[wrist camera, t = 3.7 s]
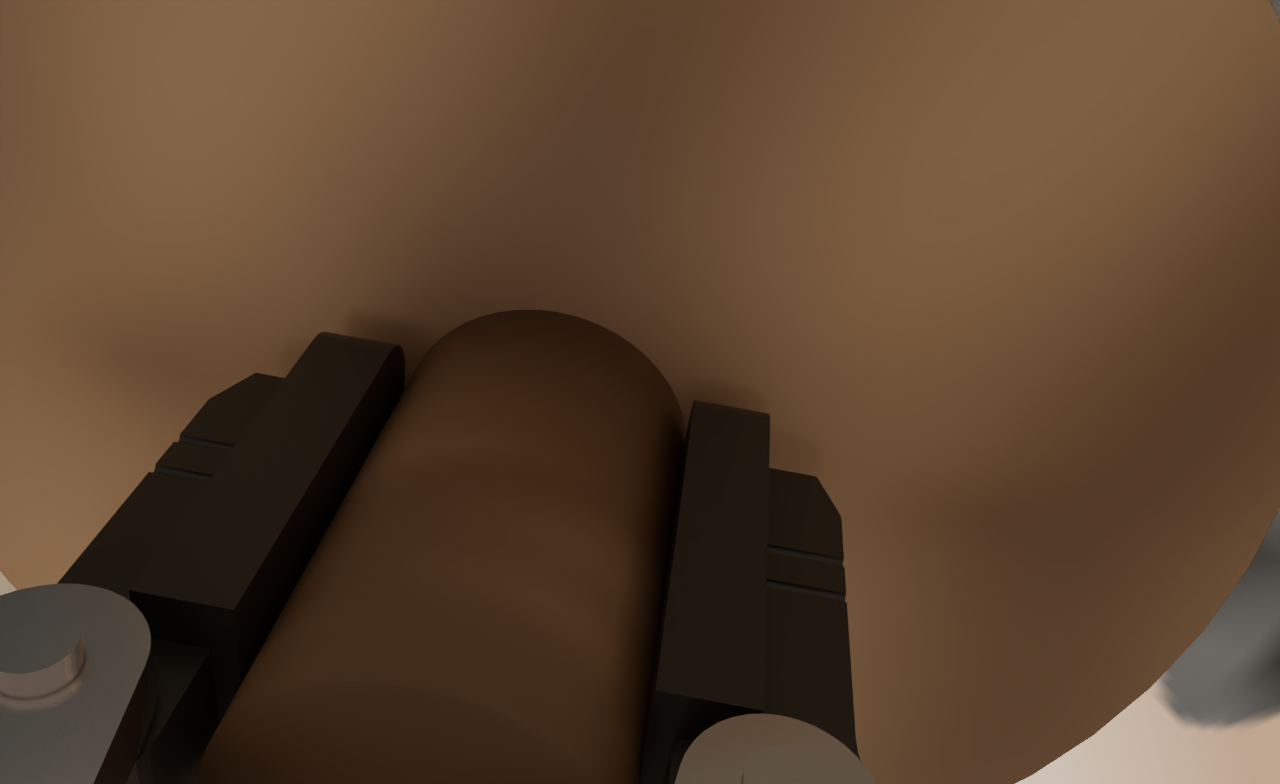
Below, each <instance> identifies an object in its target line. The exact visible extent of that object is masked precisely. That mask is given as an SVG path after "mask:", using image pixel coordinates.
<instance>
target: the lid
mask: <svg viewBox="0 0 1280 784" xmlns="http://www.w3.org/2000/svg"><path fill="white" fill-rule="evenodd" d="M320 332H330V333H335V334H341V335H346V336H352V337H357V338H363V339H368V340H374V341H379V342H384V343H390V344H395V345H400V346H401V347H402V349H403V352H404V357H405V389H404V391H403V393H402V395H401V396H400V398H399V400H398V402H397V404H396V406H395V407H394V409H393V411H392V413H391V415H390V416H389V418H388V420H387V422H386V424H385V425H384V427H383V429H382V431H381V433H380V434H379V436H378V438H377V440H376V442H375V443H374V445H373V447H372V449H371V451H370V452H369V454H368V456H367V458H366V460H365V462H364V463H363V465H362V467H361V469H360V471H359V472H358V474H357V476H356V478H355V480H354V481H353V483H352V485H351V487H350V489H349V490H348V492H347V494H346V496H345V498H344V499H343V501H342V503H341V505H340V507H339V508H338V510H337V512H336V514H335V516H334V518H333V519H332V521H331V523H330V525H329V527H328V528H327V530H326V532H325V534H324V536H323V537H322V539H321V541H320V543H319V545H318V546H317V548H316V550H315V552H314V554H313V555H312V557H311V559H310V561H309V563H308V564H307V566H306V568H305V570H304V572H303V574H302V575H301V577H300V579H299V581H298V583H297V584H296V586H295V588H294V590H293V592H292V593H291V595H290V597H289V599H288V601H287V602H286V604H285V606H284V608H283V610H282V611H281V613H280V615H279V617H278V619H277V620H276V622H275V624H274V626H273V628H272V629H271V631H270V633H269V635H268V637H267V639H266V640H265V642H264V644H263V646H262V648H261V649H260V651H259V653H258V655H257V657H256V658H255V660H254V662H253V664H252V666H251V667H250V669H249V671H248V673H247V675H246V676H245V678H244V680H243V682H242V684H241V685H240V687H239V689H238V691H237V693H236V695H235V696H234V698H233V700H232V702H231V704H230V705H229V707H228V709H227V711H226V713H225V714H224V716H223V718H222V720H221V722H220V723H219V725H218V727H217V729H216V731H215V732H214V734H213V736H212V738H211V740H210V741H209V743H208V745H207V748H206V750H205V752H204V755H203V757H202V759H201V763H200V769H199V774H198V784H640V773H639V763H640V756H641V749H642V742H643V735H644V727H645V720H646V713H647V706H648V699H649V691H650V684H651V677H652V670H653V663H654V655H655V648H656V641H657V634H658V627H659V619H660V612H661V605H662V598H663V591H664V583H665V576H666V569H667V562H668V555H669V548H670V540H671V533H672V526H673V519H674V512H675V504H676V497H677V490H678V483H679V476H680V468H681V461H682V454H683V447H684V442H685V437H686V432H687V427H688V422H689V417H690V413H691V408H692V404H693V401H694V400H698V401H704V402H709V403H714V404H720V405H725V406H731V407H736V408H742V409H747V410H753V411H758V412H764V413H769V414H770V454H769V468H774V469H779V470H784V471H790V472H795V473H801V474H806V475H811V476H817V478H818V479H819V481H820V483H821V484H822V486H823V488H824V489H825V491H826V492H827V494H828V496H829V497H830V499H831V501H832V502H833V504H834V505H835V507H836V509H837V510H838V512H839V513H840V515H841V519H842V534H843V550H844V561H843V567H845V580H846V597H845V602H847V611H848V626H849V642H850V657H851V672H852V688H853V703H854V718H855V734H856V742H857V749H858V754H859V757H860V760H861V762H862V763H863V765H864V766H865V767H866V768H867V769H868V771H869V772H870V774H871V776H872V777H873V779H874V781H875V783H876V784H1014V783H1016V782H1018V781H1020V780H1023V779H1025V778H1026V777H1028V776H1030V775H1032V774H1034V773H1035V772H1037V771H1038V770H1040V769H1042V768H1043V767H1045V766H1046V765H1047V764H1049V763H1051V762H1052V761H1054V760H1055V759H1057V758H1058V757H1060V756H1062V755H1063V754H1065V753H1066V752H1068V751H1069V750H1071V749H1072V748H1074V747H1075V746H1077V745H1078V744H1080V743H1081V742H1083V741H1085V740H1086V739H1088V738H1089V737H1091V736H1092V735H1094V734H1095V733H1096V732H1097V731H1098V730H1100V729H1101V728H1102V727H1103V726H1105V725H1106V724H1107V723H1108V722H1109V721H1111V720H1112V719H1113V718H1114V717H1115V716H1116V715H1118V714H1119V713H1120V712H1121V711H1123V710H1124V709H1125V708H1126V707H1127V706H1129V704H1131V703H1132V702H1133V701H1134V700H1136V699H1137V698H1138V697H1139V696H1141V695H1142V694H1143V693H1144V692H1145V691H1147V690H1148V689H1149V688H1150V687H1151V686H1152V685H1153V684H1154V683H1155V682H1156V681H1157V680H1158V679H1159V678H1160V677H1161V676H1162V675H1163V673H1164V672H1165V671H1166V670H1167V669H1168V668H1169V667H1170V666H1171V665H1172V664H1173V663H1174V662H1175V661H1176V660H1177V658H1178V657H1179V656H1180V655H1181V654H1182V653H1183V652H1184V651H1185V650H1186V649H1187V648H1188V647H1189V646H1190V645H1191V643H1192V642H1193V641H1194V640H1195V639H1196V638H1197V637H1198V636H1199V635H1200V634H1201V633H1202V632H1203V631H1204V629H1205V628H1206V626H1207V625H1208V624H1209V622H1210V621H1211V619H1212V618H1213V617H1214V615H1215V614H1216V612H1217V611H1218V610H1219V608H1220V607H1221V605H1222V604H1223V602H1224V601H1225V600H1226V598H1227V597H1228V595H1229V594H1230V593H1231V591H1232V590H1233V588H1234V587H1235V586H1236V584H1237V583H1238V581H1239V580H1240V579H1241V577H1242V576H1243V574H1244V573H1245V571H1246V570H1247V569H1248V567H1249V566H1250V564H1251V562H1252V560H1253V558H1254V556H1255V554H1256V552H1257V550H1258V548H1259V546H1260V544H1261V543H1262V541H1263V539H1264V537H1265V535H1266V533H1267V531H1268V529H1269V527H1270V525H1271V523H1272V521H1273V519H1274V517H1275V515H1276V513H1277V511H1278V509H1279V507H1280V23H1279V20H1278V18H1277V15H1276V12H1275V10H1274V9H1273V7H1272V5H1271V3H1270V1H1269V0H0V571H1V572H2V573H3V575H4V576H5V577H6V578H7V579H8V581H9V582H10V583H11V584H12V585H13V586H14V587H15V588H16V589H17V590H20V589H25V588H30V587H35V586H40V585H50V584H57V583H58V582H59V580H60V579H61V578H62V577H63V576H64V574H65V573H66V572H67V571H68V569H69V568H70V567H71V566H72V565H73V563H74V562H75V561H76V560H77V559H78V557H79V556H80V555H81V554H82V552H83V551H84V550H85V549H86V548H87V546H88V545H89V544H90V543H91V542H92V540H93V539H94V538H95V537H96V535H97V534H98V533H99V532H100V531H101V529H102V528H103V527H104V526H105V525H106V523H107V522H108V521H109V520H110V518H111V517H112V516H113V515H114V514H115V512H116V511H117V510H118V509H119V508H120V506H121V505H122V504H123V503H124V501H125V500H126V499H127V498H128V497H129V495H130V494H131V493H132V492H133V491H134V489H135V488H136V487H137V486H138V484H139V483H140V482H141V481H142V480H143V478H144V477H145V476H146V475H147V474H148V472H154V470H155V464H156V463H157V461H158V460H159V459H160V458H161V456H162V455H163V454H164V453H165V452H166V450H167V449H168V448H169V447H170V446H171V444H172V443H173V442H178V441H179V438H180V433H181V432H182V431H183V430H184V429H185V427H186V426H187V425H188V424H189V422H190V421H191V420H192V419H193V418H194V416H195V415H196V414H197V413H198V412H199V410H200V409H201V408H202V407H203V405H204V404H205V403H206V402H207V401H208V399H210V398H211V397H213V396H215V395H217V394H219V393H220V392H222V391H224V390H226V389H227V388H229V387H231V386H233V385H235V384H236V383H238V382H240V381H242V380H244V379H245V378H247V377H249V376H251V375H252V374H254V373H261V374H266V375H272V376H277V377H282V378H285V377H286V376H287V374H288V373H289V372H290V370H291V369H292V368H293V366H294V365H295V364H296V362H297V361H298V360H299V358H300V357H301V355H302V354H303V353H304V351H305V350H306V349H307V347H308V346H309V345H310V343H311V342H312V341H313V339H314V338H315V337H316V336H317V335H318V334H319V333H320Z"/></svg>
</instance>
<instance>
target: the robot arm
mask: <svg viewBox="0 0 1280 784" xmlns="http://www.w3.org/2000/svg"><path fill="white" fill-rule="evenodd" d="M404 389H405V357H404V352H403V349H402V347H401V346H400V345H395V344H390V343H384V342H379V341H374V340H368V339H363V338H357V337H352V336H346V335H341V334H335V333H330V332H320V333H319V334H318V335H317V336H316V337H315V338H314V339H313V341H312V342H311V343H310V345H309V346H308V347H307V349H306V350H305V351H304V353H303V354H302V355H301V357H300V358H299V360H298V361H297V362H296V364H295V365H294V366H293V368H292V369H291V370H290V372H289V373H288V374H287V376H286V377H285V378H282V377H277V376H272V375H266V374H261V373H254V374H252V375H251V376H249V377H247V378H245V379H244V380H242V381H240V382H238V383H236V384H235V385H233V386H231V387H229V388H227V389H226V390H224V391H222V392H220V393H219V394H217V395H215V396H213V397H211V398H210V399H208V401H207V402H206V403H205V404H204V405H203V407H202V408H201V409H200V410H199V412H198V413H197V414H196V415H195V416H194V418H193V419H192V420H191V421H190V422H189V424H188V425H187V426H186V427H185V429H184V430H183V431H182V432H181V433H180V438H179V441H178V442H173V443H172V444H171V446H170V447H169V448H168V449H167V450H166V452H165V453H164V454H163V455H162V456H161V458H160V459H159V460H158V461H157V463H156V464H155V470H154V472H148V474H147V475H146V476H145V477H144V478H143V480H142V481H141V482H140V483H139V484H138V486H137V487H136V488H135V489H134V491H133V492H132V493H131V494H130V495H129V497H128V498H127V499H126V500H125V501H124V503H123V504H122V505H121V506H120V508H119V509H118V510H117V511H116V512H115V514H114V515H113V516H112V517H111V518H110V520H109V521H108V522H107V523H106V525H105V526H104V527H103V528H102V529H101V531H100V532H99V533H98V534H97V535H96V537H95V538H94V539H93V540H92V542H91V543H90V544H89V545H88V546H87V548H86V549H85V550H84V551H83V552H82V554H81V555H80V556H79V557H78V559H77V560H76V561H75V562H74V563H73V565H72V566H71V567H70V568H69V569H68V571H67V572H66V573H65V574H64V576H63V577H62V578H61V579H60V580H59V582H58V583H57V584H50V585H40V586H35V587H30V588H25V589H20V590H17V591H14V592H11V593H8V594H4V595H1V596H0V784H198V774H199V769H200V763H201V759H202V757H203V755H204V752H205V750H206V748H207V745H208V743H209V741H210V740H211V738H212V736H213V734H214V732H215V731H216V729H217V727H218V725H219V723H220V722H221V720H222V718H223V716H224V714H225V713H226V711H227V709H228V707H229V705H230V704H231V702H232V700H233V698H234V696H235V695H236V693H237V691H238V689H239V687H240V685H241V684H242V682H243V680H244V678H245V676H246V675H247V673H248V671H249V669H250V667H251V666H252V664H253V662H254V660H255V658H256V657H257V655H258V653H259V651H260V649H261V648H262V646H263V644H264V642H265V640H266V639H267V637H268V635H269V633H270V631H271V629H272V628H273V626H274V624H275V622H276V620H277V619H278V617H279V615H280V613H281V611H282V610H283V608H284V606H285V604H286V602H287V601H288V599H289V597H290V595H291V593H292V592H293V590H294V588H295V586H296V584H297V583H298V581H299V579H300V577H301V575H302V574H303V572H304V570H305V568H306V566H307V564H308V563H309V561H310V559H311V557H312V555H313V554H314V552H315V550H316V548H317V546H318V545H319V543H320V541H321V539H322V537H323V536H324V534H325V532H326V530H327V528H328V527H329V525H330V523H331V521H332V519H333V518H334V516H335V514H336V512H337V510H338V508H339V507H340V505H341V503H342V501H343V499H344V498H345V496H346V494H347V492H348V490H349V489H350V487H351V485H352V483H353V481H354V480H355V478H356V476H357V474H358V472H359V471H360V469H361V467H362V465H363V463H364V462H365V460H366V458H367V456H368V454H369V452H370V451H371V449H372V447H373V445H374V443H375V442H376V440H377V438H378V436H379V434H380V433H381V431H382V429H383V427H384V425H385V424H386V422H387V420H388V418H389V416H390V415H391V413H392V411H393V409H394V407H395V406H396V404H397V402H398V400H399V398H400V396H401V395H402V393H403V391H404ZM769 454H770V414H769V413H764V412H758V411H753V410H747V409H742V408H736V407H731V406H725V405H720V404H714V403H709V402H704V401H698V400H694V401H693V404H692V408H691V413H690V417H689V422H688V427H687V432H686V437H685V442H684V447H683V454H682V461H681V468H680V476H679V483H678V490H677V497H676V504H675V512H674V519H673V526H672V533H671V540H670V548H669V555H668V562H667V569H666V576H665V583H664V591H663V598H662V605H661V612H660V619H659V627H658V634H657V641H656V648H655V655H654V663H653V670H652V677H651V684H650V691H649V699H648V706H647V713H646V720H645V727H644V735H643V742H642V749H641V756H640V763H639V773H640V784H876V783H875V781H874V779H873V777H872V776H871V774H870V772H869V771H868V769H867V768H866V767H865V766H864V765H863V763H862V762H861V760H860V757H859V754H858V749H857V742H856V734H855V718H854V703H853V688H852V672H851V657H850V642H849V626H848V611H847V602H845V597H846V580H845V567H843V561H844V550H843V534H842V519H841V515H840V513H839V512H838V510H837V509H836V507H835V505H834V504H833V502H832V501H831V499H830V497H829V496H828V494H827V492H826V491H825V489H824V488H823V486H822V484H821V483H820V481H819V479H818V478H817V476H811V475H806V474H801V473H795V472H790V471H784V470H779V469H774V468H769Z"/></svg>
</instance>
